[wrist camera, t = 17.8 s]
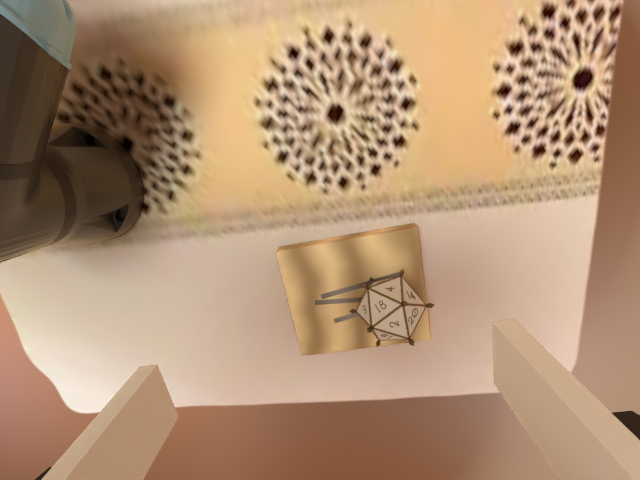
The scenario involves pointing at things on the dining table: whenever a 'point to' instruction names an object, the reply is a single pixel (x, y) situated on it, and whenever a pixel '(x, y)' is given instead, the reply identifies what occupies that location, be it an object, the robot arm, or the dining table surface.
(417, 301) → the game die
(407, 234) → the board
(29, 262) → the dining table surface
